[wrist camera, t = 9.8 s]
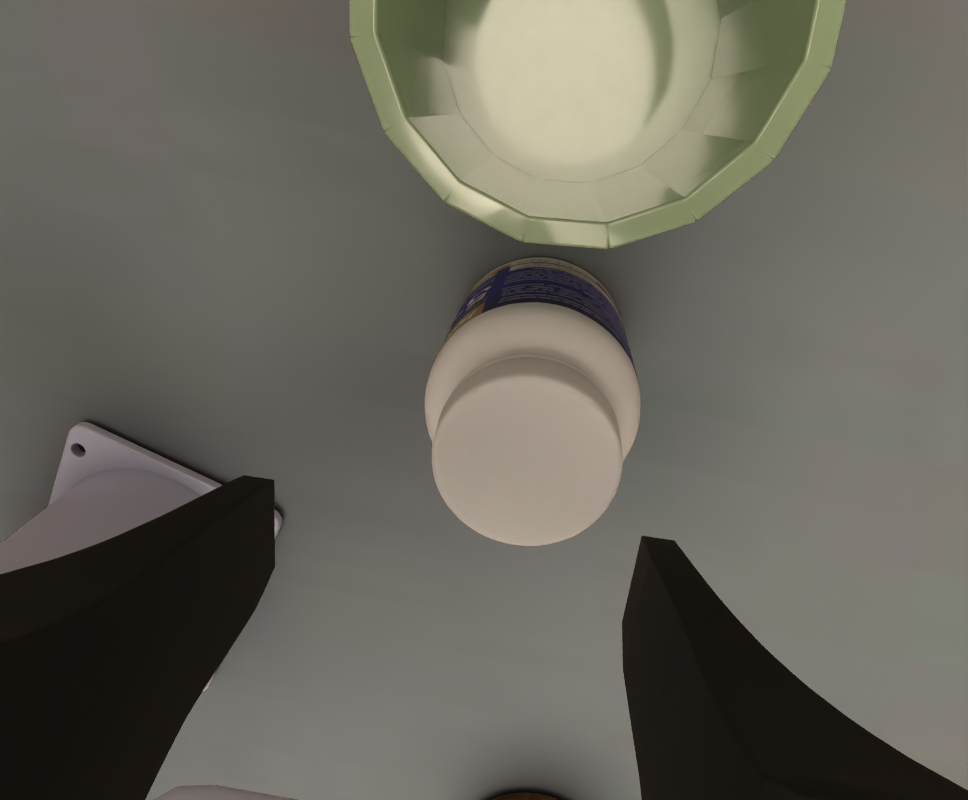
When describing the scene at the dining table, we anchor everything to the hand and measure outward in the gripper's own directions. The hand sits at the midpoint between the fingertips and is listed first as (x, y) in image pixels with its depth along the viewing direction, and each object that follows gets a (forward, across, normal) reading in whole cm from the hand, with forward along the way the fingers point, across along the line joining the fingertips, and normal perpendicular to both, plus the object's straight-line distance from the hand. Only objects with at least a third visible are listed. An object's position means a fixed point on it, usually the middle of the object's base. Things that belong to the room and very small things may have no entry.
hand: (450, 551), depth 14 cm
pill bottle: (+11, -1, -1) cm, 11 cm away
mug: (+11, -1, -11) cm, 15 cm away
